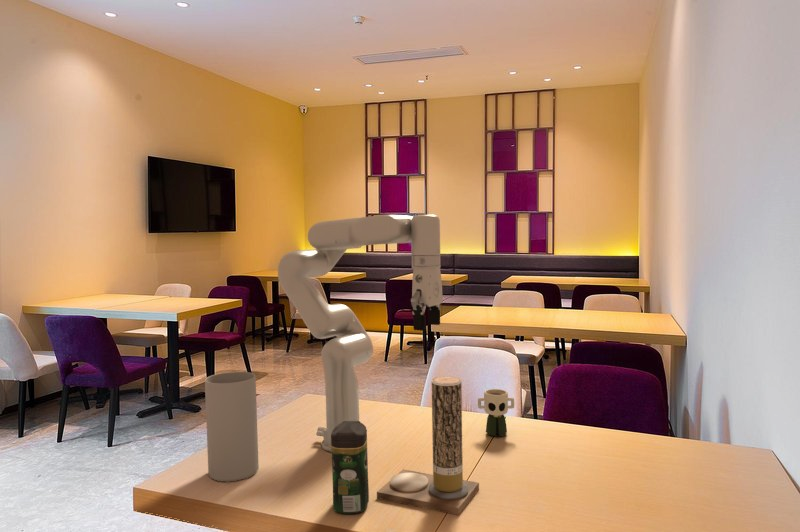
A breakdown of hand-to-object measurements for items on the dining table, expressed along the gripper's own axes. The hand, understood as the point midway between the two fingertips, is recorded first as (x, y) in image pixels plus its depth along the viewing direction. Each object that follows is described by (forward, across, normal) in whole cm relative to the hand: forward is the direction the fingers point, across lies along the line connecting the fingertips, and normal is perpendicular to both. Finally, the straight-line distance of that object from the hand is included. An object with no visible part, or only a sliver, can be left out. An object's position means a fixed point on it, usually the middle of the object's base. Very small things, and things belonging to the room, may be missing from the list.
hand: (427, 327), depth 152 cm
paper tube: (+34, -17, -12) cm, 40 cm away
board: (+36, -17, -7) cm, 41 cm away
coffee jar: (+36, -30, +7) cm, 47 cm away
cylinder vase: (+36, -26, +44) cm, 63 cm away
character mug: (+36, +28, -10) cm, 47 cm away
